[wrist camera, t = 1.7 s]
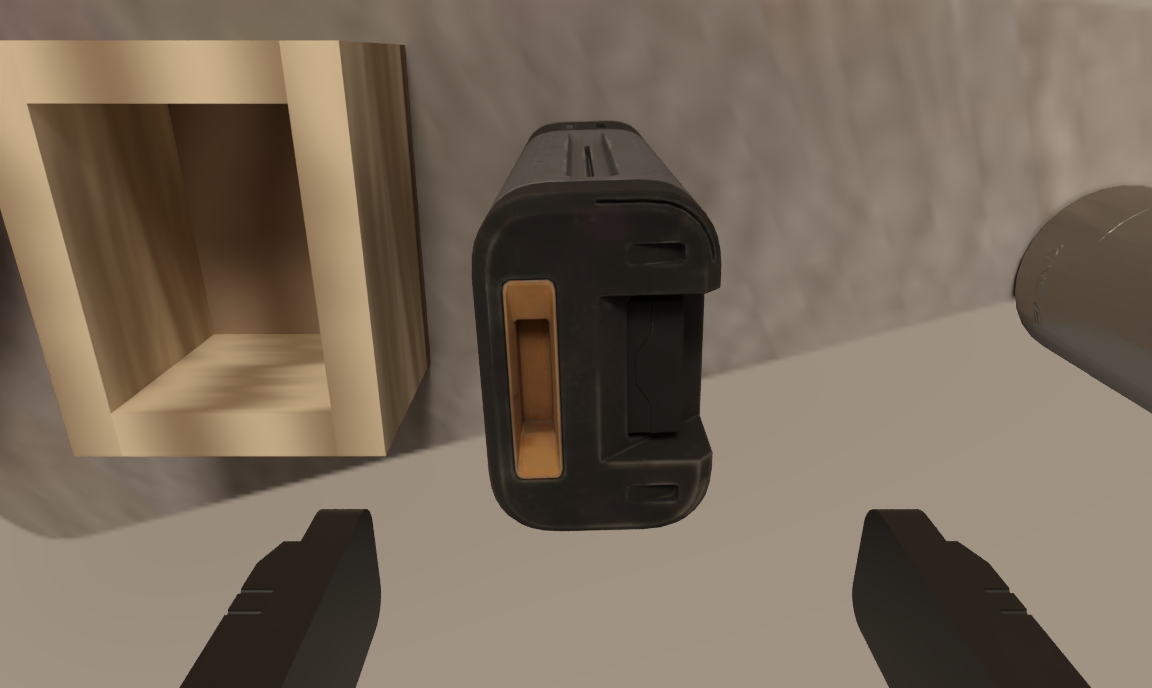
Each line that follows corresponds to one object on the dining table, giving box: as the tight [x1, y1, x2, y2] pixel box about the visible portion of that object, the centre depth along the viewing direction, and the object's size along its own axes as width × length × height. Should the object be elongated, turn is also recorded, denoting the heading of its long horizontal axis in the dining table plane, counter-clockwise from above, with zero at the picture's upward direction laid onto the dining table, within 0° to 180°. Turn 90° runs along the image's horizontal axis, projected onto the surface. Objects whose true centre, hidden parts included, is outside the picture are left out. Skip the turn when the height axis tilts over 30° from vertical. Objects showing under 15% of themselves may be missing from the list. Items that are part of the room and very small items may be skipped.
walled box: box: [0, 41, 431, 456], centre depth 32 cm, size 13×16×10 cm
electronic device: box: [472, 120, 721, 531], centre depth 27 cm, size 9×6×20 cm, turn 2°
